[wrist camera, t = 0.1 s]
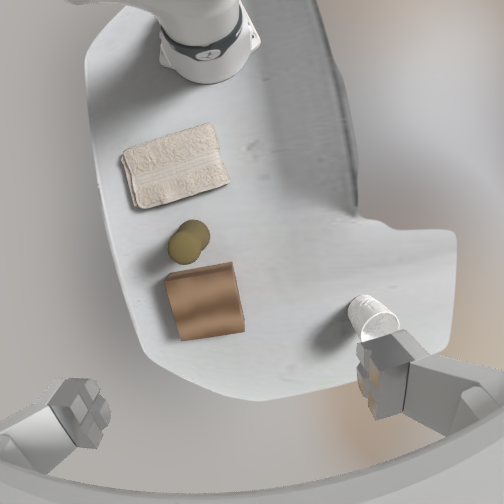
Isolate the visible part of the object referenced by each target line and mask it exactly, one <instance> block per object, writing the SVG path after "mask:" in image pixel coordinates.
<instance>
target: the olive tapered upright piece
mask: <svg viewBox="0 0 504 504" xmlns="http://www.w3.org/2000/svg"><path fill="white" fill-rule="evenodd" d="M209 240H210V233H209V230H208V228H207V226H206V225H205V224H204V223H202V222H200V221H198V220H188V221H186V222H184V223H183V224H182V225H181V226H180V228H179V230H178V233H176V234H174V235H173V236H172V237H171V238H170V240H169V243H168V253H169V255H170V257H171V259H172V260H173V261H174V262H176V263H178V264H181V265H187V264H191V263H193V262H195V261H196V260H197V259H198V257H199V255H200V253H201V251H202V250H203V249H204V248H205V247H206V246H207V245H208V243H209Z"/></svg>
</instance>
